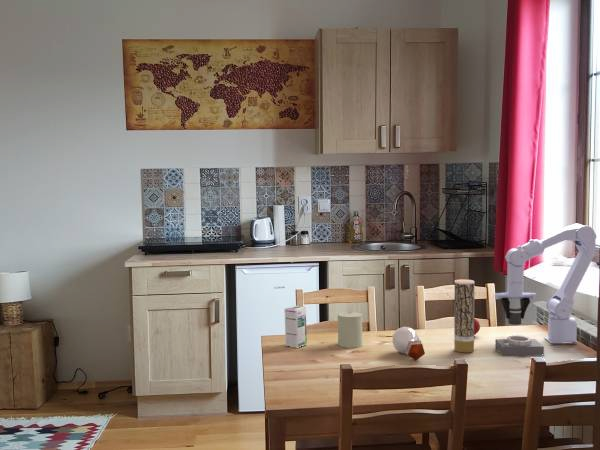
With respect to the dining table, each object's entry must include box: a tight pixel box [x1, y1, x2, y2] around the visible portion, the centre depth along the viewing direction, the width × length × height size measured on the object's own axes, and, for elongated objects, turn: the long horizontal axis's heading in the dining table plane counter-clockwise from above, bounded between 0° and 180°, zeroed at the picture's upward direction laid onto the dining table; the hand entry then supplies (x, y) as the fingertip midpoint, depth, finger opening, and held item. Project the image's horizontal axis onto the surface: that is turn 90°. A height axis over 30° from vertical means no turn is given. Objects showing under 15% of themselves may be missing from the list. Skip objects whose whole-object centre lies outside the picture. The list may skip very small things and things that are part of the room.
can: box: [337, 311, 363, 349], centre depth 256 cm, size 9×9×12 cm
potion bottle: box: [392, 326, 426, 361], centre depth 241 cm, size 9×10×15 cm
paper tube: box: [453, 278, 476, 354], centre depth 245 cm, size 7×7×25 cm
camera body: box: [495, 335, 545, 356], centre depth 244 cm, size 14×10×4 cm
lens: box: [507, 306, 522, 326], centre depth 256 cm, size 5×5×6 cm
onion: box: [474, 317, 481, 336], centre depth 265 cm, size 6×6×8 cm
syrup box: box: [284, 305, 308, 349], centre depth 256 cm, size 6×6×14 cm
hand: (514, 318), depth 256 cm, fingers closed on lens, 5 cm apart
